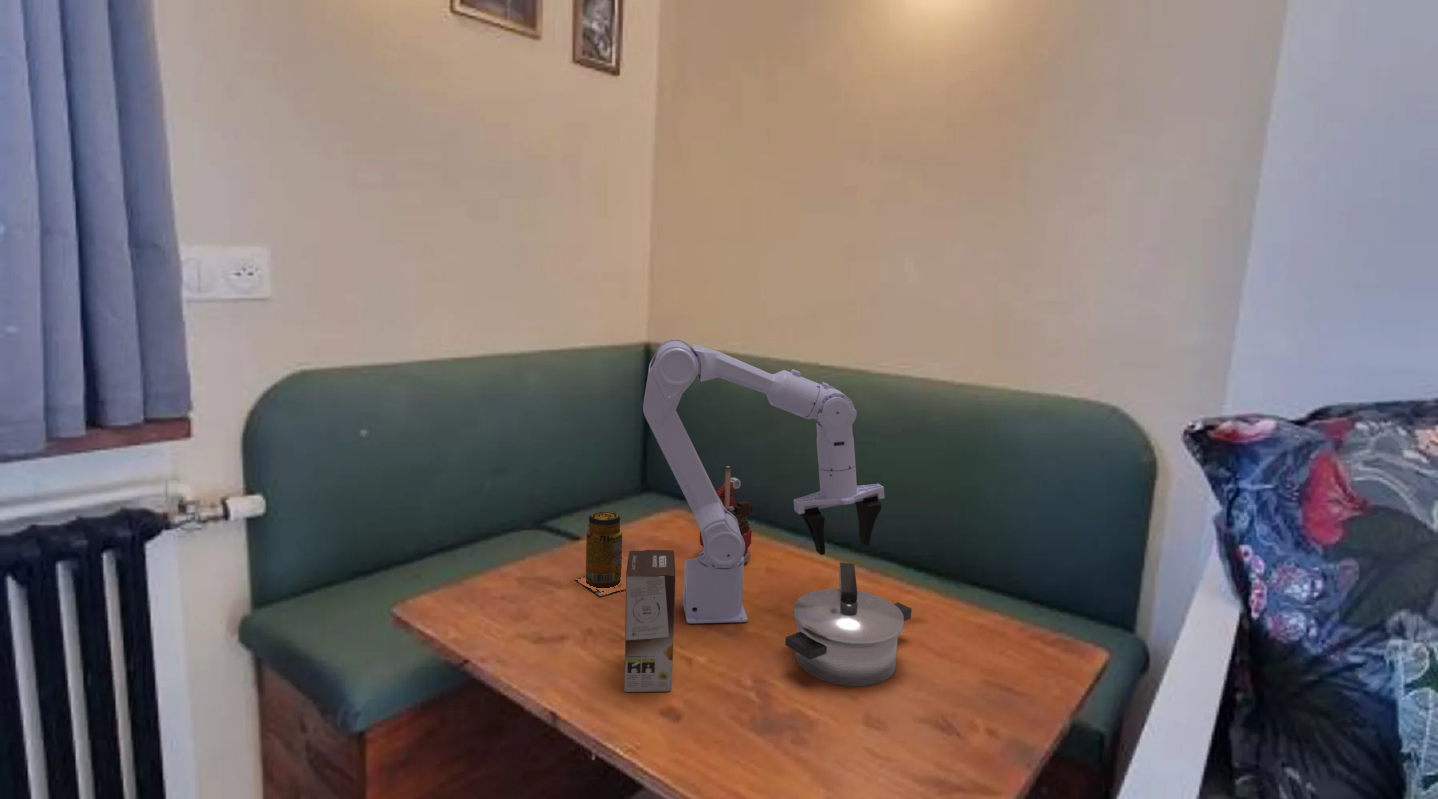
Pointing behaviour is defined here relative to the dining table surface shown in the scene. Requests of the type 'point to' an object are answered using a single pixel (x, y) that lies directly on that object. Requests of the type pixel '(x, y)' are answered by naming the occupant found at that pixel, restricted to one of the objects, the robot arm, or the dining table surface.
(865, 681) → the cooker pot
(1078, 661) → the dining table surface
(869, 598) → the lid
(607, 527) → the condiment
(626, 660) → the coffee box
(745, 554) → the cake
